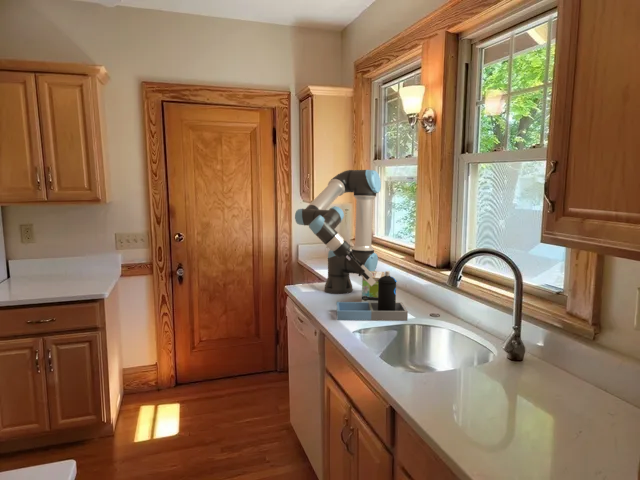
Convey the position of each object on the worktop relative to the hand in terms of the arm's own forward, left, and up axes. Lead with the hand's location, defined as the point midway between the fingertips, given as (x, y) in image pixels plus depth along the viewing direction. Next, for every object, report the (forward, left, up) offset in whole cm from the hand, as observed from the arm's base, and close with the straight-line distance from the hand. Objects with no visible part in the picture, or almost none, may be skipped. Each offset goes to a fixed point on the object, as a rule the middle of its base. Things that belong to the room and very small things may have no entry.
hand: (372, 280), depth 190 cm
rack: (-1, 0, -16) cm, 16 cm away
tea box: (-20, +3, -16) cm, 26 cm away
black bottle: (-1, +7, -16) cm, 18 cm away
